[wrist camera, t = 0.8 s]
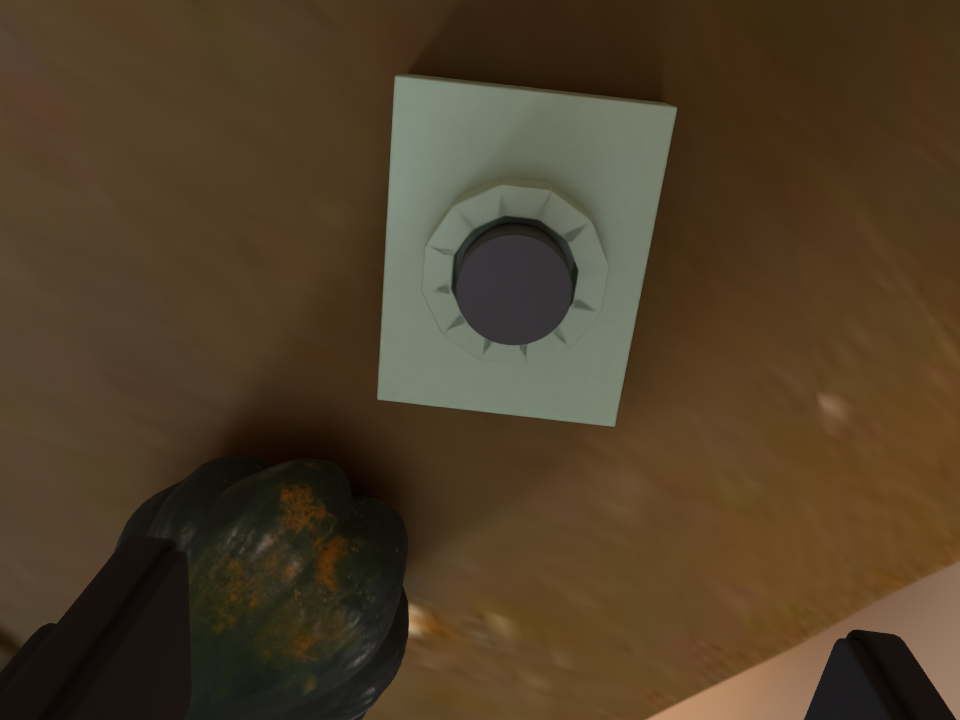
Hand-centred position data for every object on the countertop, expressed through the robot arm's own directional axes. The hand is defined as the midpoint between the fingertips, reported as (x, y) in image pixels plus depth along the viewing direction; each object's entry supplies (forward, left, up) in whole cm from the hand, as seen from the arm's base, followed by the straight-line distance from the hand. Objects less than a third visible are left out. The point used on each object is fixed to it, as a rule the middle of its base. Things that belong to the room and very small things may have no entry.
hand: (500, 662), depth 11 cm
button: (0, 0, -21) cm, 21 cm away
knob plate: (0, 0, -25) cm, 25 cm away
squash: (+19, -7, -25) cm, 32 cm away
